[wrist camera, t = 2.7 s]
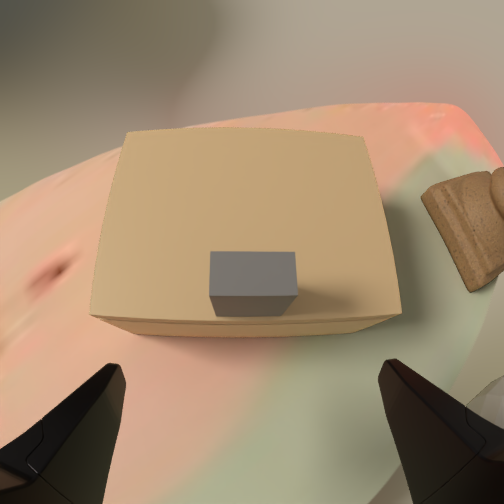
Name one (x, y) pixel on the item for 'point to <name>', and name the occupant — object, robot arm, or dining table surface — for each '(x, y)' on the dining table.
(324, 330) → the wooden box
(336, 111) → the dining table surface
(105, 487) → the robot arm
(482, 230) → the candle holder
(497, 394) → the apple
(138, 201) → the lid
